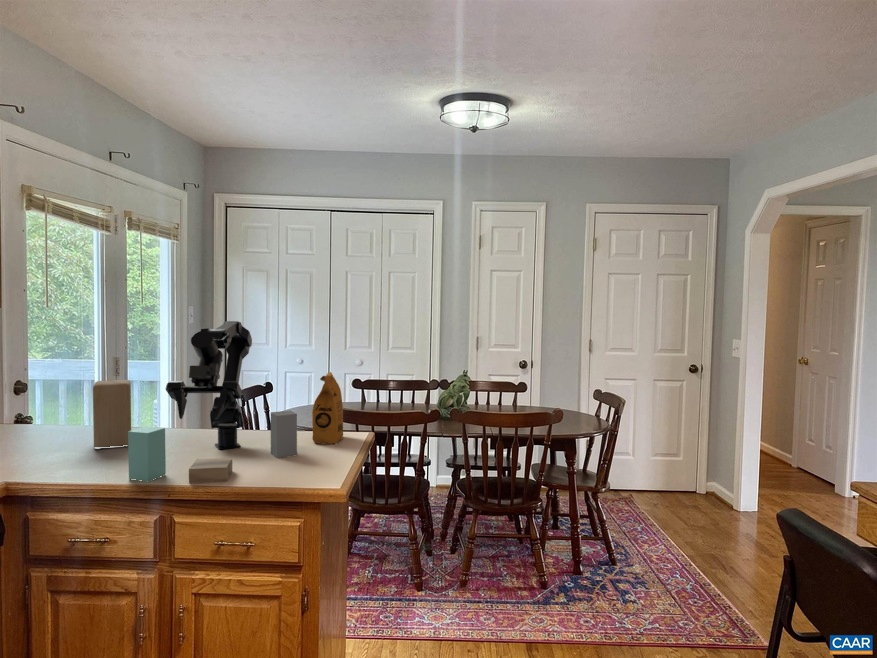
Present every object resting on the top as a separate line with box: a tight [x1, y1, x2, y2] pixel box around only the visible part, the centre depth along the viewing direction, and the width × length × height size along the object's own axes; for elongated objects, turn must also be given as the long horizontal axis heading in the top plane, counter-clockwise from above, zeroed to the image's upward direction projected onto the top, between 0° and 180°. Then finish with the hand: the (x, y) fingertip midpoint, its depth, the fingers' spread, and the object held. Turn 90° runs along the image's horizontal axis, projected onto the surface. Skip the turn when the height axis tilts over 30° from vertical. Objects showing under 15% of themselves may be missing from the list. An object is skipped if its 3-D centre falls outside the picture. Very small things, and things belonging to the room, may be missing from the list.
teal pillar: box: [127, 426, 167, 482], centre depth 148 cm, size 6×6×12 cm
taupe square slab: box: [188, 457, 233, 484], centre depth 149 cm, size 9×9×4 cm
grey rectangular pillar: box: [270, 410, 298, 459], centre depth 172 cm, size 6×6×12 cm
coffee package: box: [311, 371, 344, 445], centre depth 189 cm, size 10×12×22 cm
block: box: [92, 379, 132, 448], centre depth 180 cm, size 10×10×20 cm
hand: (198, 418), depth 153 cm, fingers open, 9 cm apart
